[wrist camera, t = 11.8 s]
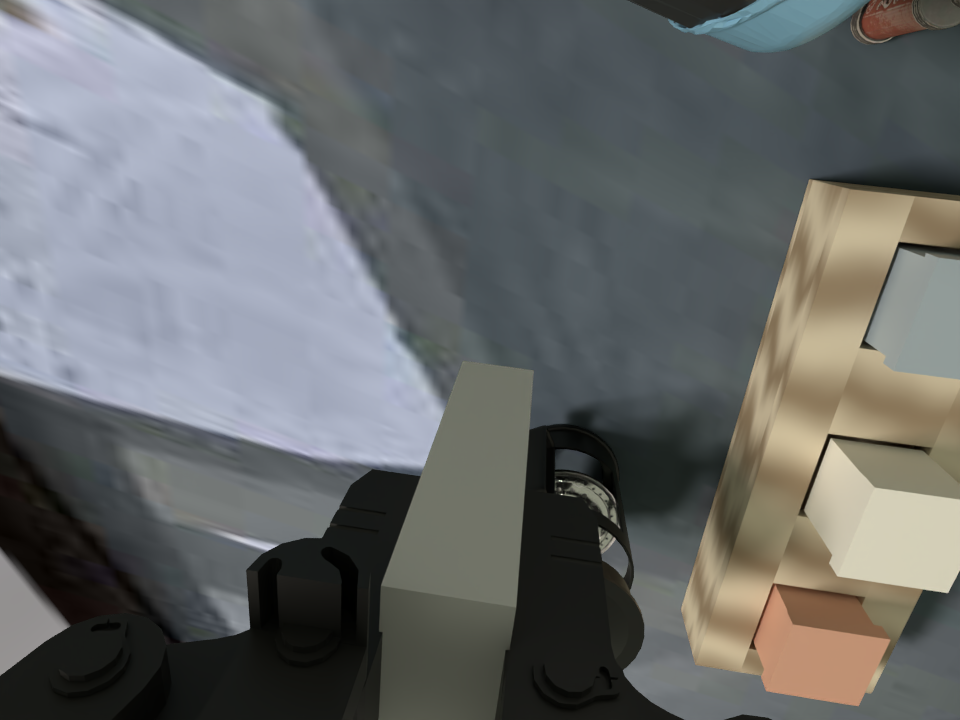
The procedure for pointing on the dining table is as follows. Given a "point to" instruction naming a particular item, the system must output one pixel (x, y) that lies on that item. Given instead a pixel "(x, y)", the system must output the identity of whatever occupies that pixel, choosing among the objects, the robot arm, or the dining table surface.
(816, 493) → the cream key
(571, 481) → the french press
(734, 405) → the dining table surface
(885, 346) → the slate key
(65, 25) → the dining table surface
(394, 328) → the dining table surface
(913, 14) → the lighter
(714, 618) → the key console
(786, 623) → the terracotta key
